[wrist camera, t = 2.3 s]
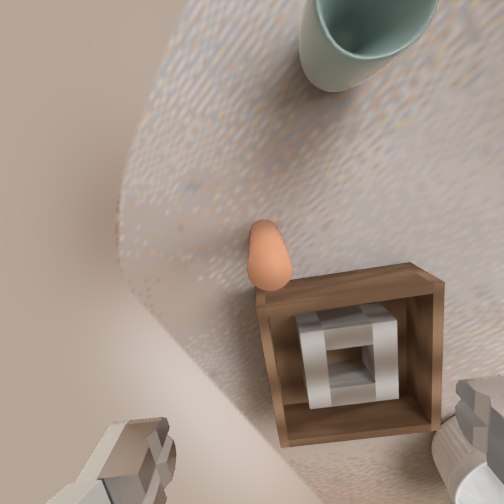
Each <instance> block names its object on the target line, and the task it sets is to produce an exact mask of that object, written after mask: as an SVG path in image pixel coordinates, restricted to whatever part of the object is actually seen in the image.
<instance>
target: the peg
mask: <svg viewBox="0 0 504 504" xmlns="http://www.w3.org/2000/svg"><path fill="white" fill-rule="evenodd" d="M247 272H248V277H249V279H250V281H251V282H252V284H253V285H254V286H256V287H257V288H259V289H261V290H264V291H275V290H278V289H281V288H282V287H284V286H285V285H286V284H287V283H288V282H289V280H290V279H291V276H292V272H293V267H292V263H291V260H290V258H289V255H288V252H287V250H286V247H285V245H284V242H283V240H282V237H281V235H280V232H279V230H278V228H277V226H276V225H275V224H274V223H273V222H271V221H269V220H261V221H258V222H257V223H255V224H254V226H253V227H252V229H251V235H250V246H249V256H248V267H247Z"/></svg>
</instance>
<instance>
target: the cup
mask: <svg viewBox="0 0 504 504" xmlns="http://www.w3.org/2000/svg"><path fill="white" fill-rule="evenodd" d="M438 1H439V0H305V2H304V6H303V11H302V16H301V21H300V27H299V36H298V50H299V56H300V62H301V65H302V68H303V71H304V73H305V75H306V77H307V78H308V80H309V81H310V82H311V83H312V84H313V85H314V86H315V87H317V88H318V89H321V90H323V91H327V92H341V91H345V90H349V89H352V88H354V87H356V86H359V85H361V84H363V83H364V82H366V81H368V80H369V79H371V78H372V77H374V76H375V75H377V74H378V73H380V72H381V71H382V70H384V69H385V68H386V67H387V66H389V65H390V64H391V63H392V62H394V61H395V60H396V59H397V58H398V57H400V56H401V55H402V54H403V53H404V52H405V51H406V50H407V49H409V48H410V47H411V46H412V45H413V44H414V43H415V42H416V41H417V40H418V39H419V38H420V36H421V35H422V34H423V32H424V31H425V30H426V28H427V27H428V25H429V24H430V22H431V20H432V17H433V15H434V13H435V11H436V8H437V4H438Z"/></svg>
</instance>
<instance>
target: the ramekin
mask: <svg viewBox="0 0 504 504" xmlns="http://www.w3.org/2000/svg"><path fill="white" fill-rule="evenodd" d="M432 456H433V459H434V462H435V464H436V467H437V469H438V471H439V473H440V476H441V478H442V480H443V482H444V484H445V486H446V488H447V490H448V495H449V498H450V500H451V502H452V504H504V485H503V484H502V482H501V481H500V480H499V479H498V477H497V476H496V475H495V474H494V473H493V471H492V470H491V469H490V468H489V466H488V465H487V459H486V454H484V453H482V452H481V451H479V450H477V449H476V448H474V447H472V445H471V444H470V443H469V442H468V440H467V439H466V438H465V436H464V435H463V433H462V431H461V429H460V428H459V425H458V422H457V419H456V415H455V416H453V417H451V418H449V419H448V420H446V421H445V422H444V423H443V424H442V425H441V429H440V430H437V431H436V432H435V434H434V437H433V441H432Z"/></svg>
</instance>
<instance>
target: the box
mask: <svg viewBox="0 0 504 504" xmlns="http://www.w3.org/2000/svg"><path fill="white" fill-rule="evenodd" d="M444 287H445V282H443V281H442V280H440V279H438V278H436V277H435V276H433V275H431V274H429V273H428V272H426V271H424V270H422V269H421V268H419V267H417V266H415V265H414V264H412V263H410V262H409V263H403V264H396V265H389V266H382V267H376V268H369V269H362V270H356V271H349V272H342V273H335V274H329V275H322V276H315V277H309V278H302V279H295V280H289V282H288V283H287V284H286V285H285V286H284V287H282V288H281V289H278V290H275V291H264V290H261V289H259V288H257V287H256V313H257V319H258V324H259V330H260V335H261V341H262V346H263V352H264V357H265V363H266V369H267V374H268V380H269V385H270V391H271V396H272V402H273V407H274V413H275V418H276V424H277V429H278V435H279V441H280V446H281V448H285V447H294V446H303V445H312V444H321V443H330V442H339V441H348V440H356V439H365V438H374V437H383V436H392V435H401V434H410V433H419V432H428V431H437V430H440V429H441V394H442V358H443V322H444Z"/></svg>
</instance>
